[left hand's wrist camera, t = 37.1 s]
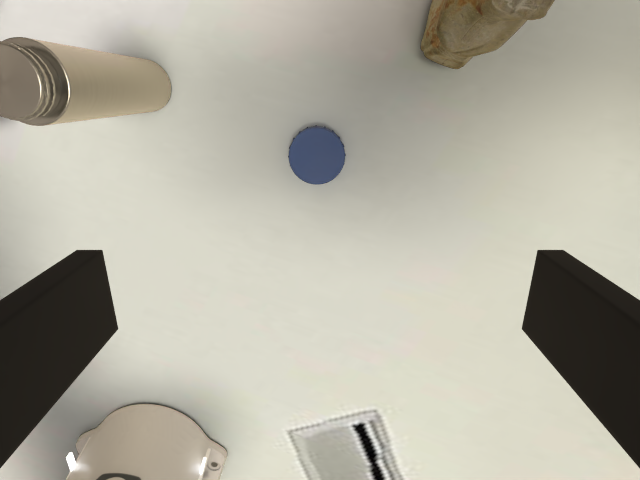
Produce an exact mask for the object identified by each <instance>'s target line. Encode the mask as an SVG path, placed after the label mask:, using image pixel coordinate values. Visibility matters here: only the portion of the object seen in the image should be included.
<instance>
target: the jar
mask: <svg viewBox="0 0 640 480" xmlns="http://www.w3.org/2000/svg"><path fill="white" fill-rule="evenodd" d="M170 95H171V83H170V80H169V77H168V75H167V73H166V72H165V71H164V69H163V68H162V67H161V66H160V65H158V64H157V63H155V62H153V61H151V60H147V59H141V58H136V57H130V56H125V55H119V54H113V53H108V52H102V51H97V50H91V49H85V48H80V47H74V46H69V45H63V44H57V43H52V42H46V41H41V40H35V39H29V38H23V37H14V38H9V39H6V40H4V41H2V42H1V41H0V116H2V117H5V118H9V119H11V120H17V121H20V122H23V123H26V124H29V125H35V126H44V125H52V124H60V123H68V122H75V121H83V120H91V119H99V118H107V117H115V116H123V115H131V114H138V113H146V112H154V111H157V110H160V109H161V108H163V107H164V106H165V105H166V104H167V102H168V101H169V98H170Z"/></svg>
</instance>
